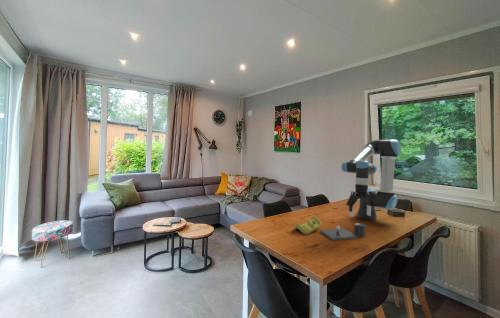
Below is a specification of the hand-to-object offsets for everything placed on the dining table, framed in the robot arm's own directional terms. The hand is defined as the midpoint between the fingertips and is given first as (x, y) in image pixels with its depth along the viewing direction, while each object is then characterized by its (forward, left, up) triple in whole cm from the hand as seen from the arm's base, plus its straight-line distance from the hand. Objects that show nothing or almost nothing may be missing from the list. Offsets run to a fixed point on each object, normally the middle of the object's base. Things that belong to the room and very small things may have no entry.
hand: (360, 215), depth 151 cm
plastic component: (+29, -15, -13) cm, 36 cm away
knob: (0, 0, -13) cm, 13 cm away
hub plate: (+15, -2, -13) cm, 19 cm away
